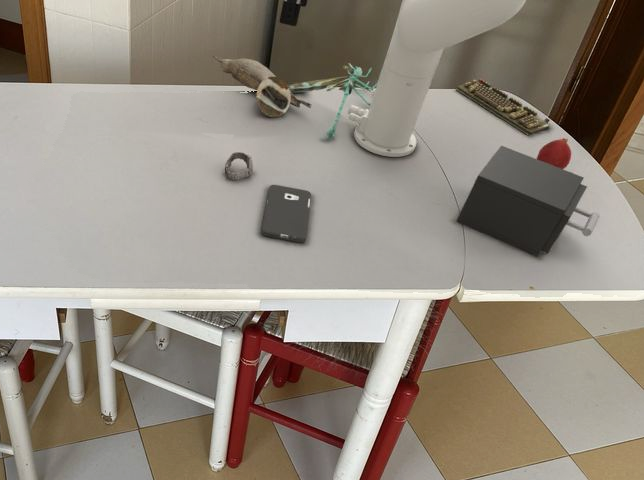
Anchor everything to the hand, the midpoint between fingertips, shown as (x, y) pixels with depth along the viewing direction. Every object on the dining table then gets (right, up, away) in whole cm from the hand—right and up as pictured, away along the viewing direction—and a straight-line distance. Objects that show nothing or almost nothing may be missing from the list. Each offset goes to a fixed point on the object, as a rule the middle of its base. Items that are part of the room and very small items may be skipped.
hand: (293, 14), depth 129 cm
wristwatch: (-13, -28, -1) cm, 31 cm away
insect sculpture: (+6, -20, +10) cm, 23 cm away
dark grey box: (+38, -40, -4) cm, 55 cm away
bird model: (-3, -2, +18) cm, 18 cm away
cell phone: (-2, -38, -9) cm, 39 cm away
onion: (+52, -28, +9) cm, 60 cm away
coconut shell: (-1, -11, +12) cm, 17 cm away
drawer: (+42, -41, -6) cm, 59 cm away
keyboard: (+51, -10, +27) cm, 58 cm away
